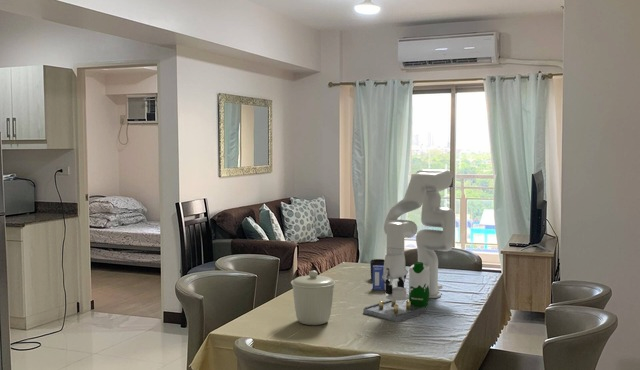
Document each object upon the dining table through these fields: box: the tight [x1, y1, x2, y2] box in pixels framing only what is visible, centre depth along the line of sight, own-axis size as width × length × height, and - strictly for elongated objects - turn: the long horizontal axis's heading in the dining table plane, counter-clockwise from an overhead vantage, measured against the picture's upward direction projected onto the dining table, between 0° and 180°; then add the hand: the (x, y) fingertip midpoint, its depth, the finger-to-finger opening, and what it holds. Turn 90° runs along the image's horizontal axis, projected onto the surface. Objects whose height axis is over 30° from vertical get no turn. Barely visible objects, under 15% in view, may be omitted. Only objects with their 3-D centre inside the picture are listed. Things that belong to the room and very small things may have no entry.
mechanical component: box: [385, 286, 409, 302], centre depth 266 cm, size 10×4×10 cm
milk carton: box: [408, 261, 430, 309], centre depth 277 cm, size 9×9×20 cm
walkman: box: [372, 266, 386, 291], centre depth 310 cm, size 8×3×12 cm, turn 86°
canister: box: [290, 270, 336, 326], centre depth 253 cm, size 18×18×21 cm
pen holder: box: [370, 258, 385, 281], centre depth 332 cm, size 9×9×10 cm
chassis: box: [362, 299, 427, 323], centre depth 267 cm, size 20×18×5 cm
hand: (394, 292), depth 267 cm, fingers closed on mechanical component, 7 cm apart
